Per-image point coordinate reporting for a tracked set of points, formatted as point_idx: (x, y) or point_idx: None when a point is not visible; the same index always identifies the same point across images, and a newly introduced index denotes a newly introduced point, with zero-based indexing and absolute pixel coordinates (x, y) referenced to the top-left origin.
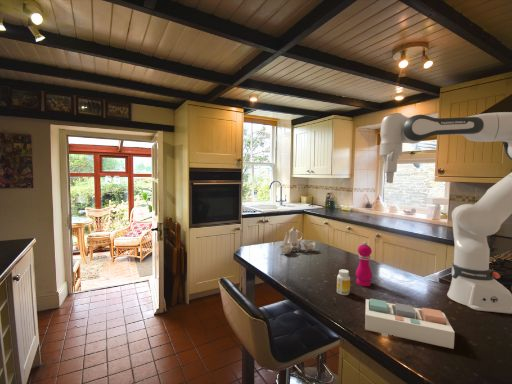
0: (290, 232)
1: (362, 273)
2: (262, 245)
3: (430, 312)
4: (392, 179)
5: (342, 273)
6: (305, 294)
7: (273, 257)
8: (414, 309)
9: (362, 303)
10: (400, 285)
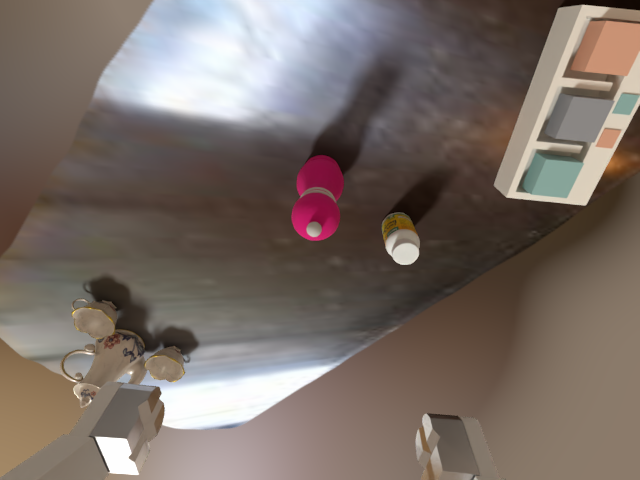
0: None
1: (341, 192)
2: None
3: (615, 56)
4: (492, 471)
5: (417, 256)
6: (424, 294)
7: (219, 370)
8: (557, 86)
9: (449, 187)
10: (297, 62)
